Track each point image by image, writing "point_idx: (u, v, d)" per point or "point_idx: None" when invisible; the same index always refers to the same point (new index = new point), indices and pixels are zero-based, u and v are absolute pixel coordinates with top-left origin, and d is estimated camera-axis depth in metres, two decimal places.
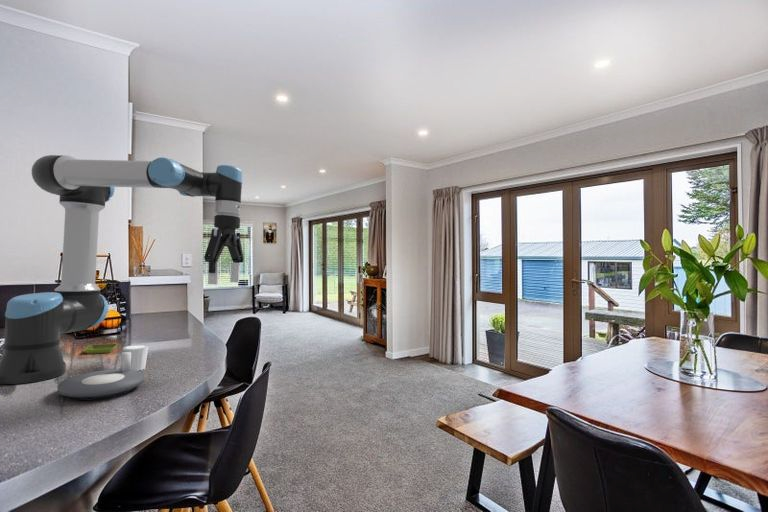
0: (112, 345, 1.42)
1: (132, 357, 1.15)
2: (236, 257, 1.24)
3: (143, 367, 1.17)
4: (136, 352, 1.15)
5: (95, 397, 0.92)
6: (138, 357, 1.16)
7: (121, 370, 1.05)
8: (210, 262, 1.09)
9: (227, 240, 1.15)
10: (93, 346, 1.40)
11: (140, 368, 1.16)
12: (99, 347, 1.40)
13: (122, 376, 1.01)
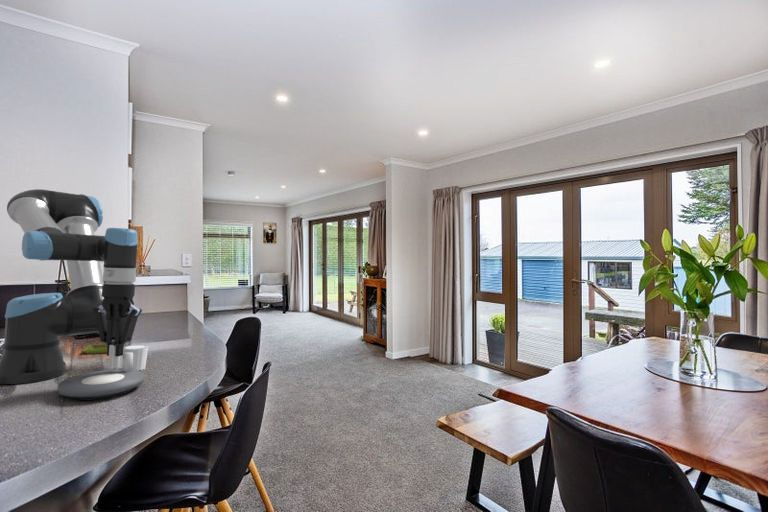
0: None
1: None
2: None
3: (143, 367, 1.17)
4: (136, 352, 1.15)
5: (95, 397, 0.92)
6: (139, 357, 1.16)
7: (123, 370, 1.05)
8: None
9: (108, 313, 1.03)
10: (93, 346, 1.39)
11: (140, 368, 1.16)
12: (99, 347, 1.40)
13: (122, 376, 1.00)
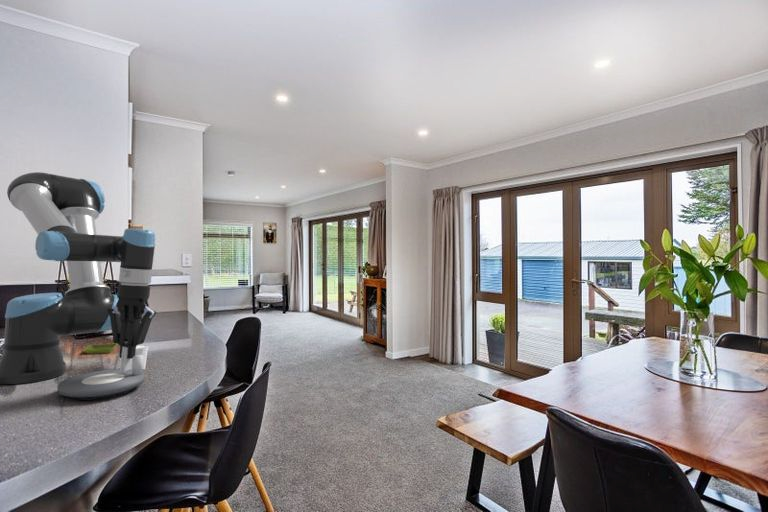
0: (112, 345, 1.42)
1: None
2: None
3: (143, 367, 1.17)
4: (136, 352, 1.15)
5: (95, 397, 0.92)
6: None
7: (132, 373, 1.03)
8: None
9: (122, 315, 1.02)
10: (93, 346, 1.39)
11: None
12: (99, 347, 1.40)
13: (117, 380, 0.98)
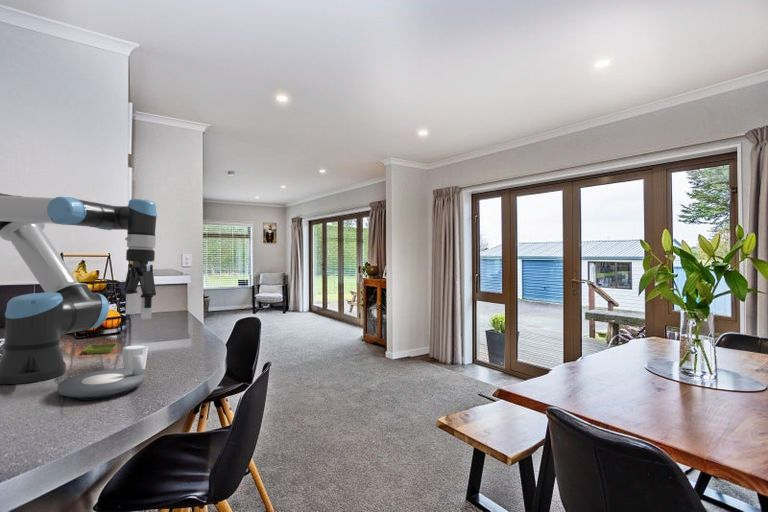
0: (112, 345, 1.42)
1: (132, 357, 1.15)
2: None
3: (143, 367, 1.17)
4: (136, 352, 1.15)
5: (95, 397, 0.92)
6: None
7: (132, 373, 1.03)
8: None
9: (130, 273, 1.18)
10: (92, 346, 1.39)
11: None
12: (98, 347, 1.40)
13: (116, 380, 0.97)
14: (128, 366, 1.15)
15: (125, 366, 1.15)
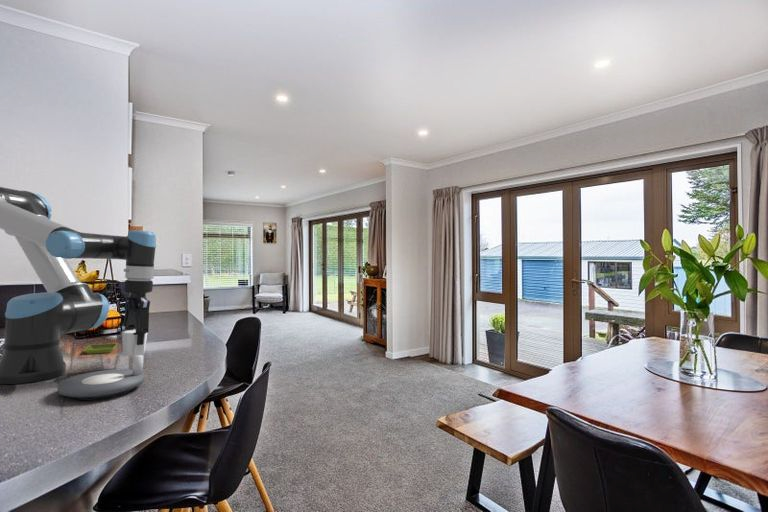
0: (112, 345, 1.42)
1: (131, 341, 1.15)
2: None
3: None
4: None
5: (95, 397, 0.92)
6: None
7: (132, 373, 1.03)
8: None
9: (128, 305, 1.18)
10: (92, 346, 1.39)
11: None
12: (98, 347, 1.40)
13: (116, 380, 0.97)
14: (127, 350, 1.15)
15: (124, 350, 1.15)
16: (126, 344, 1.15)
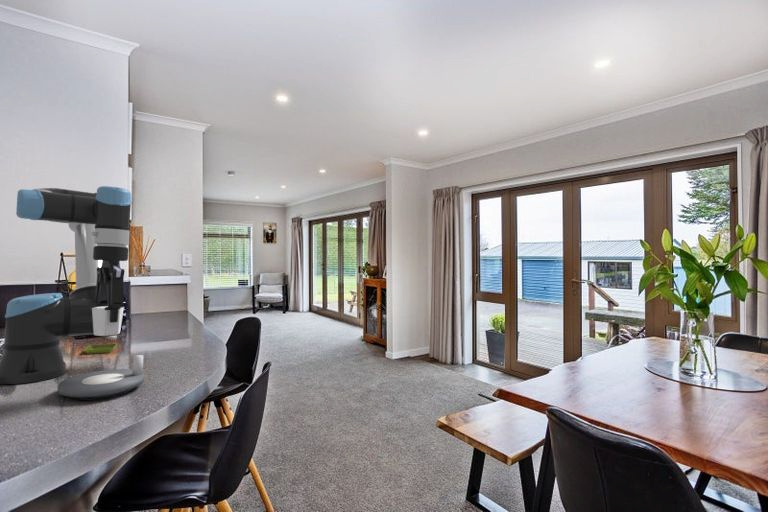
0: (111, 345, 1.42)
1: (103, 318, 0.96)
2: None
3: None
4: None
5: (95, 397, 0.92)
6: None
7: (132, 373, 1.03)
8: None
9: (99, 276, 0.99)
10: (92, 346, 1.39)
11: None
12: (98, 347, 1.40)
13: (116, 380, 0.97)
14: (98, 329, 0.96)
15: (95, 329, 0.96)
16: (97, 322, 0.96)
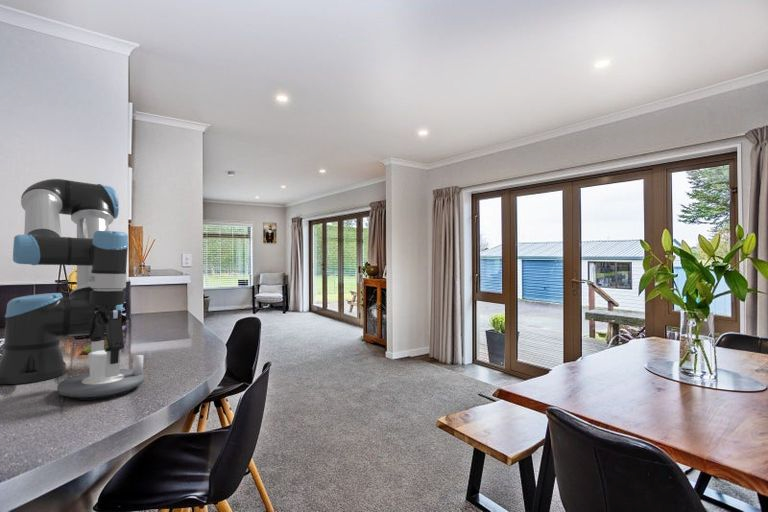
0: None
1: (100, 364, 0.95)
2: None
3: (114, 376, 0.98)
4: (104, 358, 0.96)
5: (95, 397, 0.92)
6: None
7: (132, 373, 1.03)
8: None
9: (95, 319, 0.99)
10: None
11: (110, 377, 0.97)
12: None
13: (116, 380, 0.97)
14: (94, 375, 0.95)
15: (91, 375, 0.96)
16: (93, 368, 0.95)
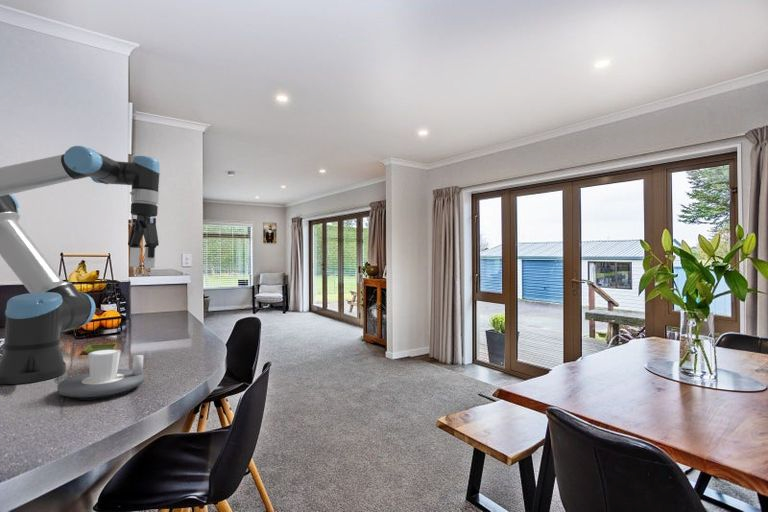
0: (111, 345, 1.42)
1: (100, 364, 0.95)
2: None
3: (114, 376, 0.98)
4: (105, 358, 0.96)
5: (95, 397, 0.92)
6: (108, 365, 0.96)
7: (132, 373, 1.03)
8: None
9: (134, 227, 1.25)
10: (92, 346, 1.39)
11: (110, 377, 0.97)
12: (98, 347, 1.40)
13: (116, 380, 0.97)
14: (94, 375, 0.95)
15: (91, 375, 0.96)
16: (93, 368, 0.95)
